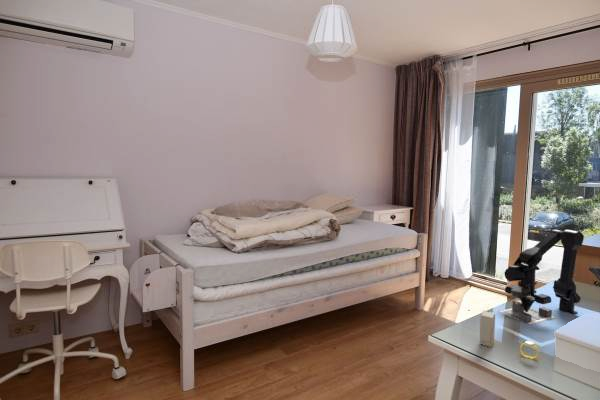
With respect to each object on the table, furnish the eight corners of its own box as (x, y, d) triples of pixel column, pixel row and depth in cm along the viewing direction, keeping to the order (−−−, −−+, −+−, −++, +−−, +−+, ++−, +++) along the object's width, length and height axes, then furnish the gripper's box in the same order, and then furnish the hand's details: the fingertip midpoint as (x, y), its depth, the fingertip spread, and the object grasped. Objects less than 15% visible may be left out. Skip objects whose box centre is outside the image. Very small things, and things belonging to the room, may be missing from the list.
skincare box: (491, 348, 144) (492, 318, 142) (478, 344, 146) (480, 315, 145) (494, 341, 149) (495, 312, 147) (482, 338, 151) (483, 310, 150)
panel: (523, 307, 182) (523, 299, 182) (556, 320, 168) (557, 311, 167) (497, 313, 175) (498, 305, 175) (530, 327, 161) (530, 318, 160)
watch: (519, 357, 137) (518, 342, 137) (520, 354, 139) (520, 339, 139) (538, 361, 134) (538, 345, 133) (539, 358, 136) (538, 342, 135)
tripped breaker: (516, 308, 178) (516, 299, 177) (524, 311, 174) (524, 302, 174) (512, 309, 176) (512, 300, 176) (519, 312, 173) (520, 303, 172)
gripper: (497, 276, 175) (496, 308, 177) (536, 287, 158) (534, 322, 160) (513, 273, 180) (512, 304, 181) (552, 284, 163) (551, 318, 164)
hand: (526, 312), depth 171 cm, fingers closed
